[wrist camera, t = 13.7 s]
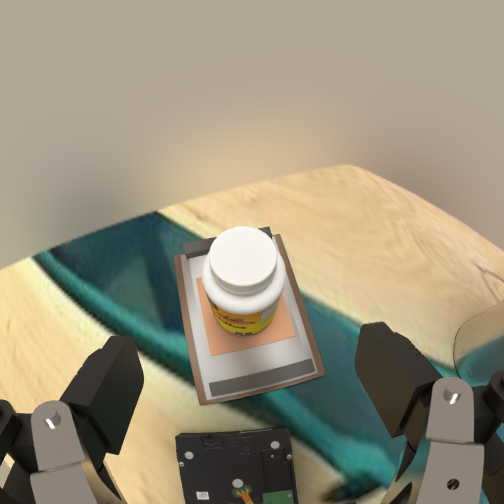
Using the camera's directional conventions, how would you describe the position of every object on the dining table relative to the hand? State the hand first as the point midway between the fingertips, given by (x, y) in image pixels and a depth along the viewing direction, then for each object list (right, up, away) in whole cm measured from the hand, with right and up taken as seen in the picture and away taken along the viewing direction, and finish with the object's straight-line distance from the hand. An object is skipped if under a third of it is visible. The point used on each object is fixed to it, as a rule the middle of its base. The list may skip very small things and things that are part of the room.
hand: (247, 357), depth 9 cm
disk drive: (-1, -20, +10) cm, 22 cm away
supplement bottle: (0, -2, +16) cm, 16 cm away
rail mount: (-1, -3, +19) cm, 19 cm away
